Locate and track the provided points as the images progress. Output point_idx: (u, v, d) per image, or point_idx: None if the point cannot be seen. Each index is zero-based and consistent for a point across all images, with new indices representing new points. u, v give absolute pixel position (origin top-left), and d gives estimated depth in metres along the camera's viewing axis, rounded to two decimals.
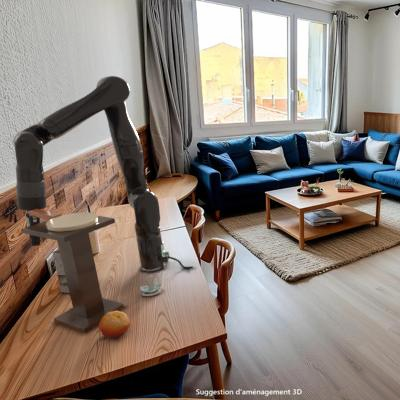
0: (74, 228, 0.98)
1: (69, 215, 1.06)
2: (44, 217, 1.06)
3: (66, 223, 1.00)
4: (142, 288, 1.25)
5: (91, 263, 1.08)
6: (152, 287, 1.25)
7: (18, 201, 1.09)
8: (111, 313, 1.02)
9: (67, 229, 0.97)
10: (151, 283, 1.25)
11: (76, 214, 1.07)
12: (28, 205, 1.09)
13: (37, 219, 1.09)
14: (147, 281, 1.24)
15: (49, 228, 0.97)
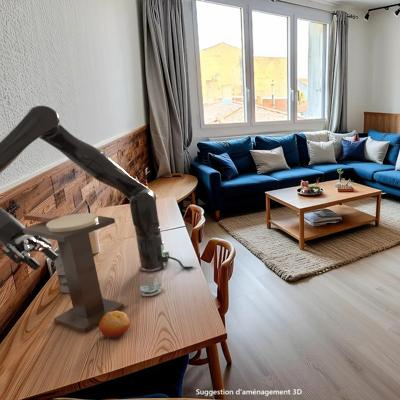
0: (76, 228, 0.98)
1: (67, 216, 1.05)
2: (41, 220, 1.05)
3: (67, 223, 1.00)
4: (142, 288, 1.25)
5: (91, 263, 1.08)
6: (152, 287, 1.25)
7: None
8: (111, 313, 1.02)
9: (70, 229, 0.97)
10: (151, 283, 1.25)
11: (74, 215, 1.07)
12: (1, 240, 1.03)
13: (7, 248, 1.00)
14: (147, 281, 1.24)
15: (50, 229, 0.97)
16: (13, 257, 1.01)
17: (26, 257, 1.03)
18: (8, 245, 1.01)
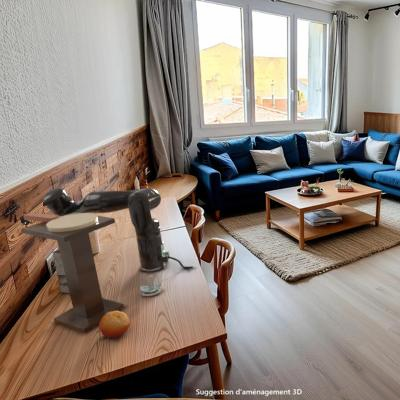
0: (76, 228, 0.98)
1: (67, 216, 1.05)
2: (41, 220, 1.05)
3: (67, 223, 1.00)
4: (142, 288, 1.25)
5: (91, 263, 1.08)
6: (152, 287, 1.25)
7: None
8: (111, 313, 1.02)
9: (70, 229, 0.97)
10: (151, 283, 1.25)
11: (74, 215, 1.07)
12: None
13: None
14: (147, 281, 1.24)
15: (50, 229, 0.97)
16: None
17: None
18: None
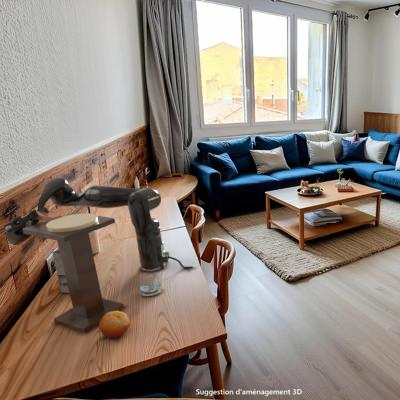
0: (73, 228, 0.97)
1: (69, 216, 1.06)
2: (44, 219, 1.06)
3: (66, 223, 1.00)
4: (142, 288, 1.25)
5: (91, 263, 1.08)
6: (152, 287, 1.25)
7: (22, 239, 1.14)
8: (111, 313, 1.02)
9: (67, 230, 0.97)
10: (151, 283, 1.25)
11: (76, 215, 1.06)
12: (12, 234, 1.11)
13: (6, 226, 1.06)
14: (147, 281, 1.24)
15: (49, 229, 0.97)
16: (18, 225, 1.06)
17: (25, 215, 1.07)
18: (5, 225, 1.06)
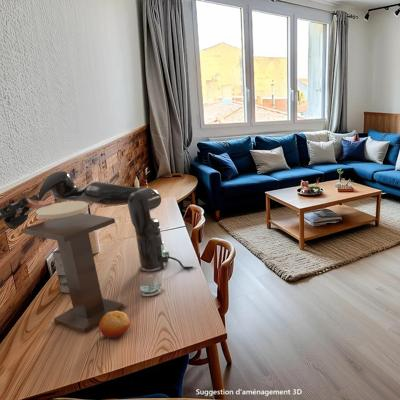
0: (63, 215, 0.98)
1: (59, 204, 1.06)
2: (34, 206, 1.06)
3: (56, 210, 1.00)
4: (142, 288, 1.25)
5: (91, 263, 1.08)
6: (152, 287, 1.25)
7: (12, 227, 1.14)
8: (111, 313, 1.02)
9: (56, 216, 0.97)
10: (151, 283, 1.25)
11: (66, 203, 1.07)
12: None
13: None
14: (147, 281, 1.24)
15: (38, 216, 0.97)
16: None
17: (16, 203, 1.07)
18: None
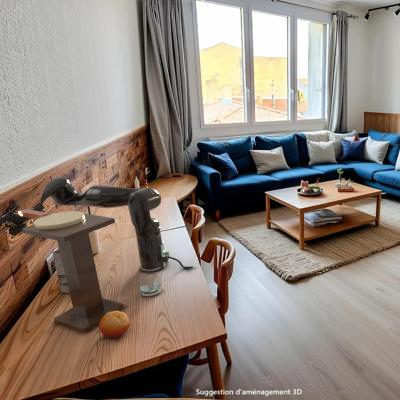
0: (60, 226, 1.00)
1: (57, 214, 1.08)
2: (32, 217, 1.08)
3: (53, 221, 1.02)
4: (142, 288, 1.25)
5: (91, 263, 1.08)
6: (152, 287, 1.25)
7: None
8: (111, 313, 1.02)
9: (54, 227, 0.99)
10: (151, 283, 1.25)
11: (64, 213, 1.09)
12: None
13: None
14: (147, 281, 1.24)
15: (36, 226, 0.99)
16: None
17: (2, 217, 1.07)
18: None
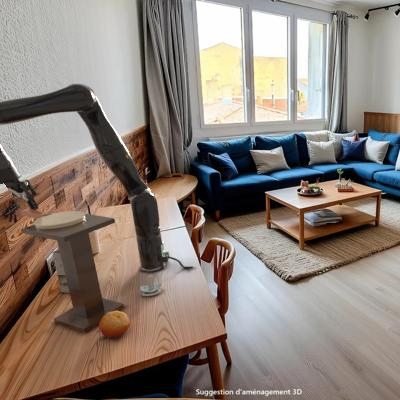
0: (60, 226, 1.00)
1: (58, 214, 1.08)
2: (34, 216, 1.08)
3: (53, 221, 1.02)
4: (142, 288, 1.25)
5: (91, 263, 1.08)
6: (152, 287, 1.25)
7: None
8: (111, 313, 1.02)
9: (54, 227, 0.99)
10: (151, 283, 1.25)
11: (65, 213, 1.09)
12: None
13: None
14: (147, 281, 1.24)
15: (36, 226, 1.00)
16: None
17: None
18: None
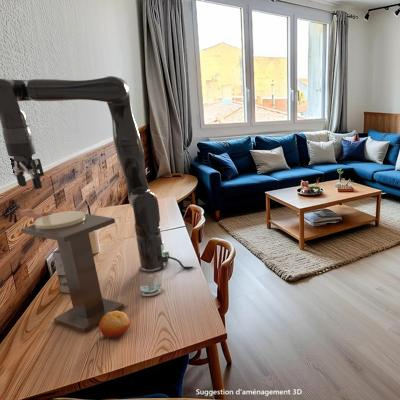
0: (60, 226, 1.00)
1: (58, 214, 1.08)
2: (34, 216, 1.08)
3: (53, 221, 1.02)
4: (142, 288, 1.25)
5: (91, 263, 1.08)
6: (152, 287, 1.25)
7: None
8: (111, 313, 1.02)
9: (54, 227, 0.99)
10: (151, 283, 1.25)
11: (65, 213, 1.09)
12: None
13: None
14: (147, 281, 1.24)
15: (36, 226, 1.00)
16: None
17: None
18: None
